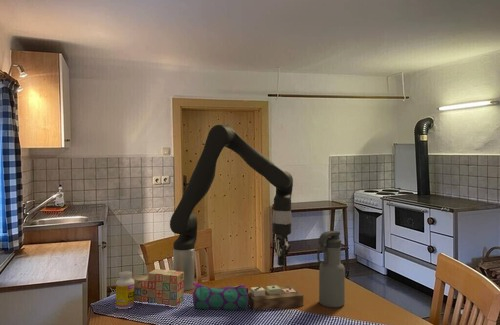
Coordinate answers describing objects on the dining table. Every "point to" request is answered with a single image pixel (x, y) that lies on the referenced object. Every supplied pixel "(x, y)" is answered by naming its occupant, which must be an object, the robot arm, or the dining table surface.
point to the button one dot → (273, 290)
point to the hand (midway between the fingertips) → (280, 265)
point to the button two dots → (288, 290)
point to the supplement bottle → (125, 290)
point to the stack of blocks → (159, 287)
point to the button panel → (275, 300)
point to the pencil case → (220, 297)
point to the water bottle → (331, 271)
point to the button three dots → (257, 291)
